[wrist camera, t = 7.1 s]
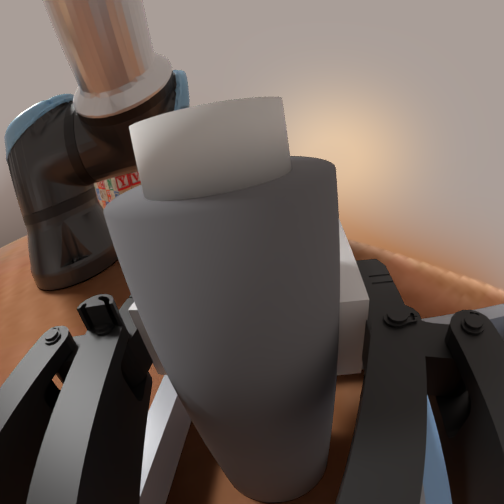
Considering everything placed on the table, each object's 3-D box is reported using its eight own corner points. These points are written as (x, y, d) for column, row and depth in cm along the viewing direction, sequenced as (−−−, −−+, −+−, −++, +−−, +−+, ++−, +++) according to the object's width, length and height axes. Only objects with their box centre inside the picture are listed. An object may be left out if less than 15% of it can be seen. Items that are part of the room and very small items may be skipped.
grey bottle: (233, 418, 14) (151, 127, 8) (326, 417, 14) (316, 100, 7) (216, 498, 10) (33, 156, 4) (327, 501, 9) (350, 81, 3)
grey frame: (186, 360, 19) (175, 333, 18) (511, 326, 15) (522, 299, 14) (115, 552, 7) (85, 541, 5) (585, 476, 2) (611, 452, 1)
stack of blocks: (98, 210, 71) (87, 166, 66) (118, 202, 75) (108, 159, 69) (125, 219, 56) (110, 161, 51) (151, 209, 60) (138, 152, 55)
